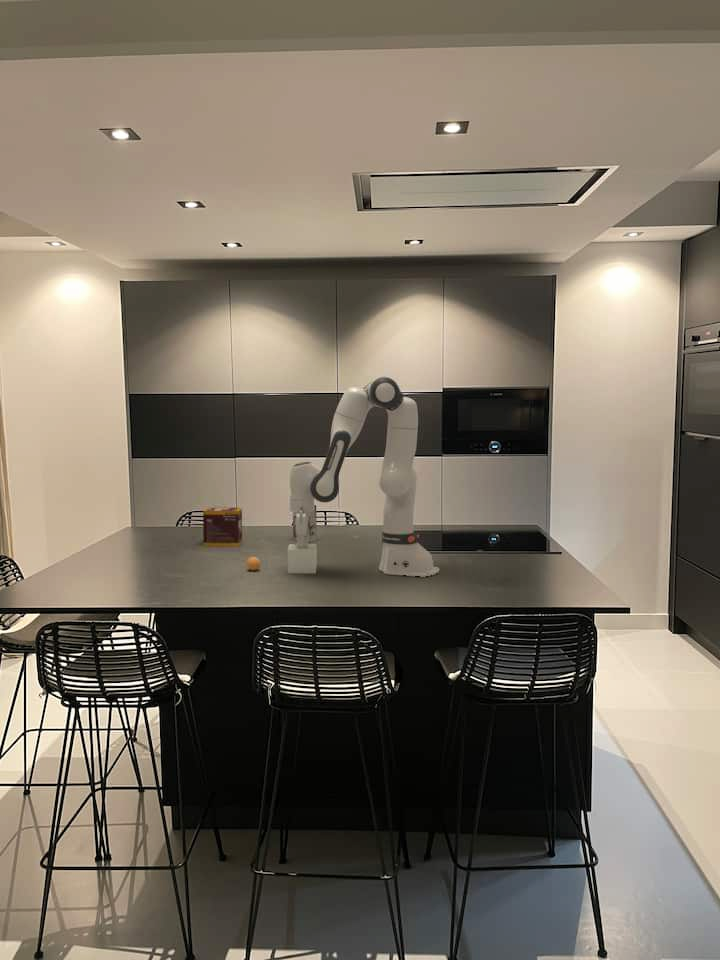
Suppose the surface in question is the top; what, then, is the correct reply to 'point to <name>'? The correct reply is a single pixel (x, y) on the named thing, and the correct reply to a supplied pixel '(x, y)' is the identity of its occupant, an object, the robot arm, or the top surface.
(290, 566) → the pale sage box
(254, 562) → the ball
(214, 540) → the supplement box
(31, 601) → the top surface
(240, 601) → the top surface
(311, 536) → the coffee box
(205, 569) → the top surface
